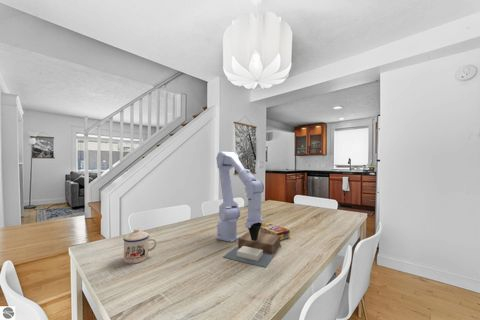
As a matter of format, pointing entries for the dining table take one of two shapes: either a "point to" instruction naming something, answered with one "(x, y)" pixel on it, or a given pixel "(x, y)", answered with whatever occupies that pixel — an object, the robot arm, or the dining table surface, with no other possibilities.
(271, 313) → the dining table surface
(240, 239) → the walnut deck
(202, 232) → the dining table surface
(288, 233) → the candy box
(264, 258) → the slate mat
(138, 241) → the teacup with lid
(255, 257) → the cream rectangular block
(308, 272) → the dining table surface
